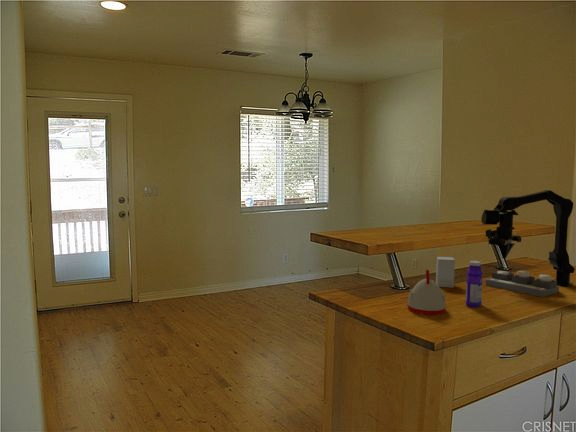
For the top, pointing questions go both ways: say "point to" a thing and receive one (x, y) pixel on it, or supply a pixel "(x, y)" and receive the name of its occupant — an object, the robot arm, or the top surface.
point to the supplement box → (445, 271)
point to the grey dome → (427, 298)
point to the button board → (523, 284)
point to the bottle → (474, 285)
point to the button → (502, 272)
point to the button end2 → (545, 278)
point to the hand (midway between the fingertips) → (504, 258)
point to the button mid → (523, 274)
